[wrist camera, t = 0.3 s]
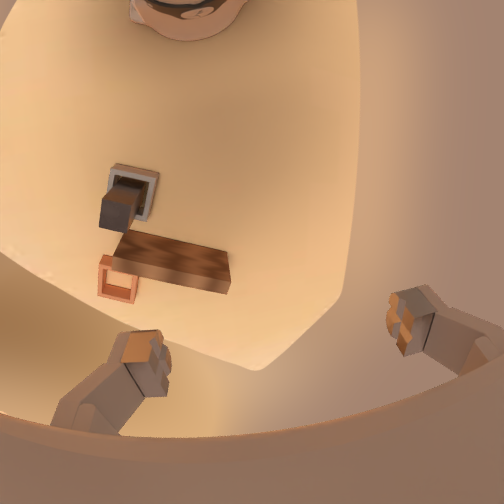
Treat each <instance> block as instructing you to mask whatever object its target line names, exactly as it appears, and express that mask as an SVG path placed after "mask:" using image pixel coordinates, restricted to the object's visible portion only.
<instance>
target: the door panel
mask: <svg viewBox="0 0 504 504" xmlns="http://www.w3.org/2000/svg"><path fill="white" fill-rule="evenodd" d="M111 270H114V271H118V272H122V273H127V274H131V275H135V276H140V277H144V278H149V279H153V280H158V281H162V282H167V283H172V284H177V285H181V286H186V287H191V288H196V289H201V290H206V291H211V292H216V293H221V294H227V292H228V290H229V287H230V284H231V277H230V270H229V264H228V257H227V252H224V251H220V250H215V249H211V248H207V247H202V246H198V245H193V244H189V243H185V242H180V241H176V240H172V239H167V238H163V237H158V236H154V235H150V234H145V233H141V232H137V231H132V230H128V232H127V234H126V233H124V234H123V236H122V238H121V240H120V242H119V244H118V246H117V248H116V250H115V253H114V255H113V258H112V269H111Z"/></svg>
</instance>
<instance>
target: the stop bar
mask: <svg viewBox="0 0 504 504" xmlns="http://www.w3.org/2000/svg"><path fill="white" fill-rule="evenodd" d="M146 183H147V181H142V180H138V179H134V178H129V177H124V176H122V177H121V178H120V180H119V181H118V182H117V183H116V184H115V185H114V186H113V187H112V188H111V189H110V191H109V192H108V193H107V194H106V195H105V196H104V197H103V198H102V204H101V212H100V221H99V227H100V228H105V229H109V230H113V231H118V232H122V233H126V234H127V232H128V230H129V228H130V226H131V224H132V222H133V220H134V218H135V216H136V214H137V213H138V211H139V209H140V207H141V205H142V202H143V197H144V193H145V188H146Z"/></svg>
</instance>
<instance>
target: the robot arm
mask: <svg viewBox="0 0 504 504" xmlns="http://www.w3.org/2000/svg"><path fill="white" fill-rule="evenodd" d="M247 1H249V0H130V12H129V16H130V19H131V20H132V21H133V22H135V23H138V24H143V25H148V26H150V27H151V28H153V29H154V30H155V31H157V32H158V33H159V34H161V35H163V36H165V37H168V38H171V39H174V40H180V41H194V40H200V39H204V38H208V37H210V36H213V35H215V34H217V33H219V32H221V31H222V30H224V29H225V28H226V27H228V26H229V25H230V24H231V23H232V22H233V20H234V19H235V18H236V16H237V15H238V13H239V11H240V9H241V7H242V6H243V4H244V3H246V2H247ZM389 304H390V305H391V308H390V309H389V310H388V311H387V315H386V325H387V329H388V331H389V333H390V335H391V336H392V337H393V338H395V339H397V343H396V345H397V346H398V348H399V350H400V351H401V353H402V355H403V357H405V356H408V355H412V354H415V353H419V352H421V351H423V353H425V354H426V355H428V356H430V357H431V358H433V359H434V360H436V361H437V362H439V363H441V364H442V365H444V366H445V367H447V368H448V369H450V370H451V371H453V372H455V373H456V374H457V375H458V377H457V378H455V379H453V380H451V381H449V382H447V383H444V384H441V385H439V386H437V387H434V388H432V389H429V390H427V391H424V392H422V393H419V394H417V395H414V396H411V397H408V398H405V399H403V400H400V401H397V402H394V403H391V404H388V405H384V406H381V407H378V408H375V409H371V410H368V411H365V412H361V413H358V414H354V415H350V416H346V417H342V418H338V419H334V420H329V421H325V422H321V423H315V424H311V425H306V426H300V427H294V428H288V429H282V430H276V431H269V432H261V433H252V434H243V435H232V436H220V437H219V436H218V437H198V438H151V437H130V436H121V435H120V434H119V433H118V432H119V430H120V429H121V428H122V427H123V426H124V424H125V423H126V422H127V420H128V419H129V418H130V417H131V415H132V414H133V413H134V412H135V410H136V409H137V408H138V407H139V405H140V404H141V403H142V402H143V400H144V399H145V398H144V397H164V396H165V397H166V396H167V392H168V386H169V381H168V378H167V376H168V375H169V373H170V372H171V367H172V364H171V355H170V352H169V349H168V347H167V346H165V345H164V344H163V339H164V337H163V335H162V333H161V331H160V330H142V331H126V332H120V333H119V334H118V335H117V338H116V340H115V343H114V345H113V348H112V350H111V353H110V356H109V358H108V361H107V363H106V364H102V365H101V366H99V367H98V368H97V369H96V370H95V371H94V372H93V373H91V374H90V375H89V376H88V377H86V378H85V379H84V380H83V381H82V382H81V383H79V384H78V385H77V386H76V387H75V388H73V389H72V390H71V391H70V392H69V393H67V394H66V395H65V396H64V397H63V398H62V399H60V401H59V403H58V406H57V408H56V411H55V414H54V416H53V419H52V422H51V424H50V426H49V425H44V424H39V423H35V422H31V421H27V420H23V419H19V418H15V417H11V416H8V415H5V414H1V413H0V504H504V330H503V329H502V328H501V327H500V326H498V325H495V324H493V323H490V322H488V321H485V320H483V319H480V318H478V317H475V316H473V315H470V314H468V313H465V312H463V311H460V310H458V309H455V308H453V307H452V308H449V307H448V306H447V305H446V304H445V303H444V302H443V301H442V300H441V298H440V297H439V296H438V295H437V294H436V293H435V292H434V291H433V290H432V289H431V288H430V287H429V286H428V285H426V284H424V285H421V286H417V287H414V288H411V289H407V290H402V291H399V292H394V293H391V295H390V298H389Z"/></svg>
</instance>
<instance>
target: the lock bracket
mask: <svg viewBox="0 0 504 504" xmlns="http://www.w3.org/2000/svg"><path fill="white" fill-rule="evenodd" d="M112 258H113V257H110V256H106V255H103V257H102V259H101V261H100V263H99V272H98V296H101V297H105V298H109V299H113V300H117V301H122V302H126V303H130V304H134V301H135V297H136V293H137V285H138V278H139V276H135V275H132V276H133V279H132V287H131V290H129V289H125V288H121V287H116V286H112V285H108V284H106V270H111V269H112ZM111 271H114V270H111ZM115 272H118V271H115ZM119 273H122V272H119ZM123 274H127V273H123ZM128 275H131V274H128Z"/></svg>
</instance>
